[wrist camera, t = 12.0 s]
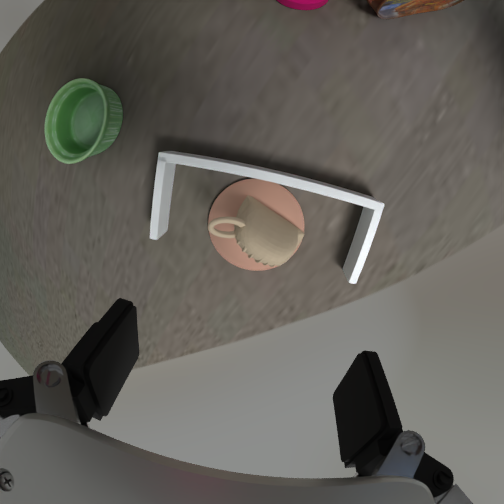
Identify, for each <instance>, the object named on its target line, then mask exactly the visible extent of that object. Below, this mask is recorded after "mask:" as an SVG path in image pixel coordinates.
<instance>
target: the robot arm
mask: <svg viewBox="0 0 504 504" xmlns="http://www.w3.org/2000/svg"><path fill="white" fill-rule="evenodd" d="M138 356H139V343H138V330H137V311H136V307H135V306H133V303H132V302H131V301H128V300H125V299H121V298H119V299H118V300H117V301H116V302H115V303H114V304H113V305H112V306H111V308H110V309H109V310H108V311H107V312H106V314H105V315H104V316H103V317H102V318H101V320H100V321H99V322H96V323H94V324H93V325H92V326H91V327H90V329H89V330H88V331H87V332H86V333H85V335H84V336H83V337H82V338H81V340H80V341H79V342H78V343H77V345H76V346H75V347H74V348H73V350H72V351H71V352H70V353H69V355H68V356H67V357H66V359H65V360H64V361H63V363H62V364H60V363H59V362H56V361H45V362H42V363H40V364H39V365H38V366H37V367H36V368H35V370H34V372H33V376H27V377H22V378H16V379H9V380H2V381H0V504H473V503H472V502H471V501H470V500H469V498H468V497H467V496H466V495H465V494H464V492H463V491H462V490H461V489H460V488H459V487H458V485H457V484H455V485H453V474H452V472H451V470H450V469H449V468H448V467H446V466H445V465H443V464H441V463H440V462H438V461H437V460H435V459H434V458H432V457H431V456H429V455H428V454H426V453H425V452H424V451H425V443H424V440H423V438H422V437H421V436H420V435H419V434H418V433H416V432H414V431H409V430H408V431H404V432H403V430H402V425H401V421H400V418H399V415H398V412H397V409H396V405H395V402H394V399H393V396H392V393H391V390H390V387H389V385H388V382H387V379H386V376H385V374H384V370H383V368H382V365H381V362H380V360H379V357H378V354H377V353H376V352H372V351H363V352H362V353H361V354H358V355H357V357H356V358H355V360H354V361H353V363H352V365H351V366H350V368H349V370H348V371H347V373H346V375H345V376H344V378H343V379H342V381H341V382H340V384H339V385H338V387H337V389H336V390H335V392H334V394H333V403H334V410H335V416H336V424H337V431H338V439H339V446H340V455H341V460H342V462H344V463H345V468H349V467H356V473H355V475H354V476H353V477H351V478H324V479H323V478H322V479H308V478H305V479H304V478H282V477H268V476H259V475H250V474H243V473H236V472H229V471H224V470H218V469H214V468H209V467H204V466H200V465H195V464H191V463H187V462H183V461H179V460H176V459H172V458H168V457H165V456H162V455H159V454H155V453H152V452H149V451H146V450H143V449H140V448H138V447H135V446H132V445H130V444H127V443H124V442H122V441H119V440H116V439H114V438H111V437H109V436H106V435H104V434H102V433H100V432H97V431H95V430H92V429H90V426H89V423H88V422H90V420H91V418H92V417H93V418H96V419H98V420H101V419H102V417H103V416H107V415H108V413H109V411H110V409H111V407H112V405H113V404H114V402H115V400H116V398H117V396H118V394H119V392H120V390H121V388H122V387H123V385H124V383H125V381H126V379H127V377H128V375H129V373H130V372H131V370H132V368H133V366H134V364H135V363H136V361H137V359H138Z"/></svg>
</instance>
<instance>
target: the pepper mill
mask: <svg viewBox="0 0 504 504" xmlns="http://www.w3.org/2000/svg"><path fill="white" fill-rule="evenodd" d="M277 1H278V2H279V3H281V4H283V5H285V6H287V7H290V8H293V9H298V10H312V9H317V8H319V7H322V6H323V5H325V4H326V3H327V2H328V0H277Z"/></svg>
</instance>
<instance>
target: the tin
mask: <svg viewBox="0 0 504 504" xmlns="http://www.w3.org/2000/svg"><path fill="white" fill-rule="evenodd" d="M366 1H367V2H368V3H369V5H370V6H371V7H372V8H373V9H374V11H375V12H376V13H377V16H378V17H380V18H382V19H393V18H398V17H402V16H407V15H412V14H417V13H423V12H430V11H436V10H441V9H445V8H448V7H451V6H453V5H456V4H458V3H460V2H462V1H464V0H366Z"/></svg>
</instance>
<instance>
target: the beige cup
mask: <svg viewBox="0 0 504 504" xmlns="http://www.w3.org/2000/svg"><path fill="white" fill-rule="evenodd" d="M220 223H231V224H234V231H230V232H227V231H220V230H217V229H215V228H214V226H215V225H217V224H220ZM208 230H209V232H210V233H212V234H213V235H215V236H218V237H222V238H235V239H236V241H237V244H238V245H239V246H240V247H241V248H242V252H245V253H247V254H248V258H254V259H255V262H256V263H259V262H261V263H263V265H264V266H265V265H269V266H270V267H274V266H280V265H281V264H283V263H285V262H287V261H288V259H289V258H290V257H291V256H292V255H293V253H294V251H295V249H296V248H297V247H298V245H299V244H300V242H301V240H302V238H303V236H304V232H303V231H301V230H300V229H298V228H297V227H296V226H294V225H293V224H291V223H290V222H288V221H287V220H285V219H284V218H282V217H281V216H279V215H278V214H276V213H275V212H273V211H272V210H270V209H269V208H267V207H266V206H264V205H263V204H262V203H260V202H259V201H257V200H256V199H254V198H253V197H251V196H249V195H248V196H247V197H246V198H245V200H244V201H243V203H242V204H241V206H240V208H239V210H238V213H237V216H236V217H219V218H215V219H213V220H212V221H210V222H209V224H208Z"/></svg>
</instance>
